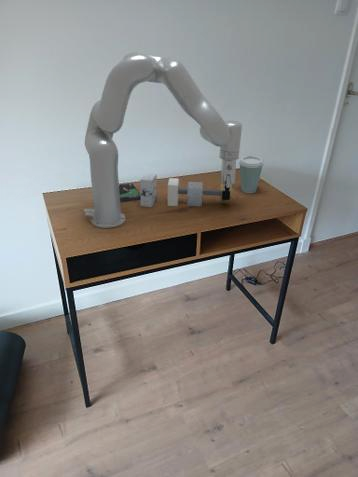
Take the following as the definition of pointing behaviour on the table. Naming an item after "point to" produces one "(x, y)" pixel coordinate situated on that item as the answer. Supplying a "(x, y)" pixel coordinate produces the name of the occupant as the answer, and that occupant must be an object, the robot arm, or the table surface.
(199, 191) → the block
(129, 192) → the disk drive
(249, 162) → the disposable coffee cup
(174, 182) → the white rectangular block
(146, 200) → the ink box
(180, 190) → the sliding bolt
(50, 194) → the table surface
